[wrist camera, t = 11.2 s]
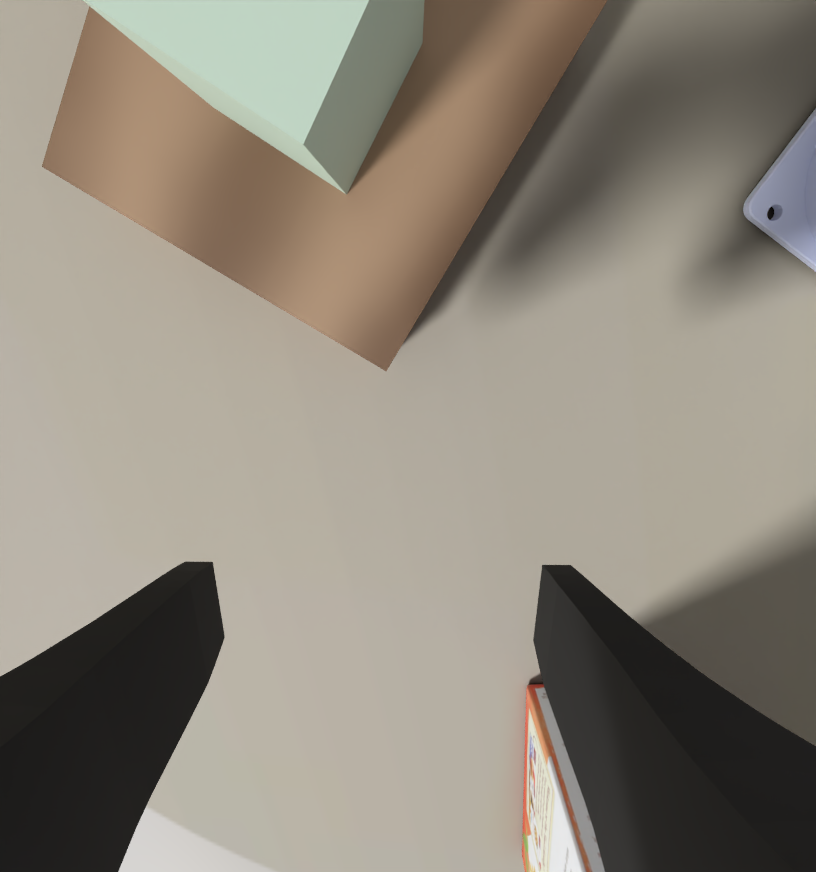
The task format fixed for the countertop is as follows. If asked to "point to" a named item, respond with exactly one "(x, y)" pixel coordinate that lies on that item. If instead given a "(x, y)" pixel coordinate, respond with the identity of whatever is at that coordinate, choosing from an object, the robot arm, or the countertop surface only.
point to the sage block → (286, 66)
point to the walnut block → (305, 191)
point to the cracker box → (553, 798)
